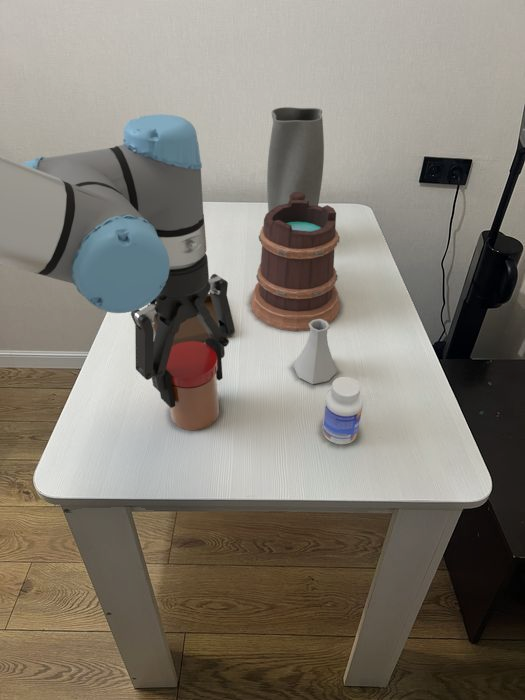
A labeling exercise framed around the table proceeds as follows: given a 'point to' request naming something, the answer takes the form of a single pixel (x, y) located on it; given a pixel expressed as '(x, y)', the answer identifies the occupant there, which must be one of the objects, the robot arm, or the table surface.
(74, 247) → the robot arm
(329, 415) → the pill bottle
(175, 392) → the jar
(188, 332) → the tray
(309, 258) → the mug
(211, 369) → the lid
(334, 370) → the flask
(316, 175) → the vase
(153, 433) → the table surface
